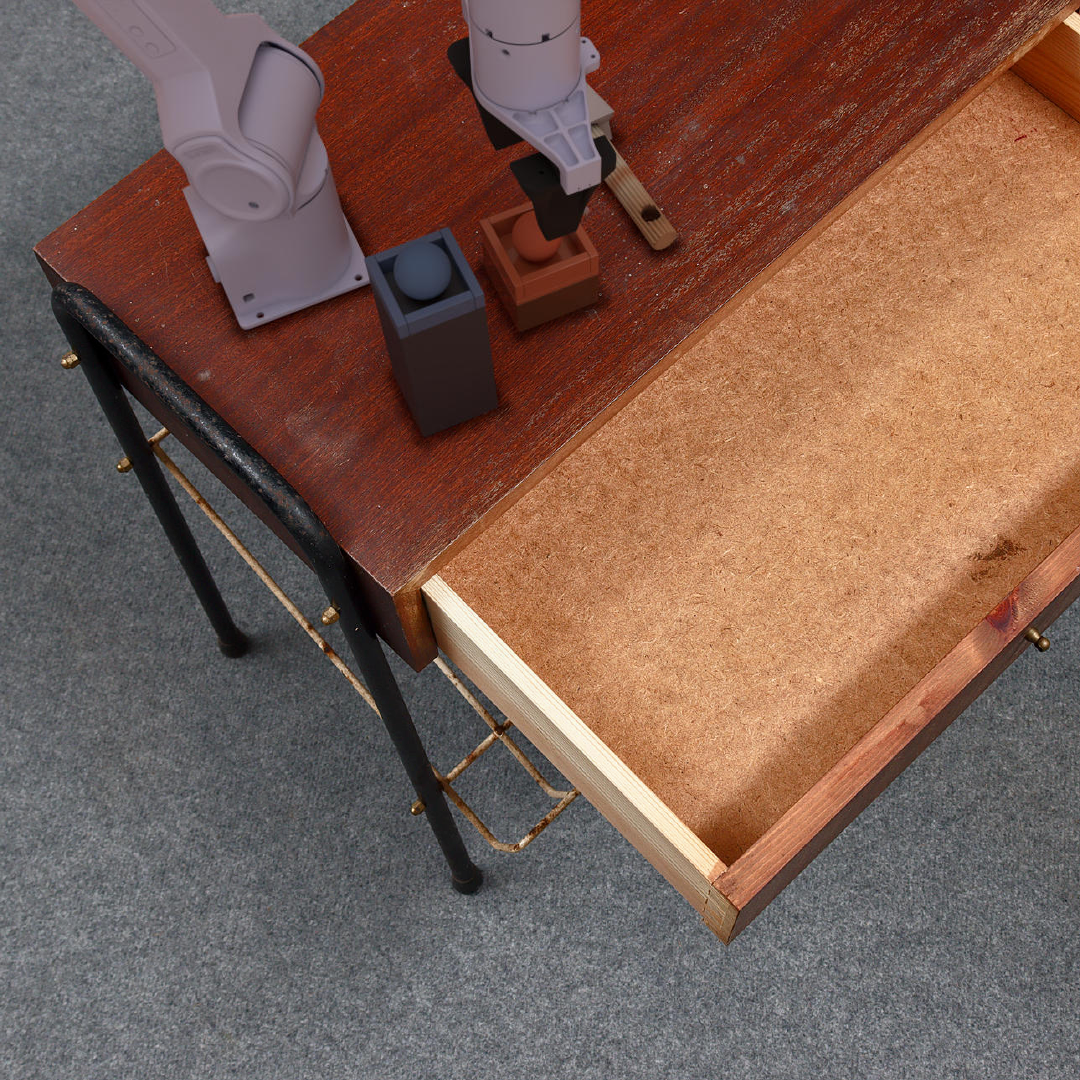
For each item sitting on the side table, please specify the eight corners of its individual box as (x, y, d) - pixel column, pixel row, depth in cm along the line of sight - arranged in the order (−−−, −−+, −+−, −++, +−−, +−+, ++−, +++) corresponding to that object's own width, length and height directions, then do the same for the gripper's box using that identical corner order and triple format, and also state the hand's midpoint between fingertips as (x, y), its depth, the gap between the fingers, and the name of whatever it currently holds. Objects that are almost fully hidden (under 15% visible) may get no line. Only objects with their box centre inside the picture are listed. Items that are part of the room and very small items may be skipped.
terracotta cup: (519, 333, 84) (515, 287, 79) (484, 268, 86) (478, 220, 81) (598, 301, 84) (599, 254, 80) (562, 238, 87) (560, 189, 82)
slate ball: (410, 319, 71) (402, 285, 68) (389, 277, 72) (381, 241, 69) (462, 299, 71) (457, 264, 69) (441, 258, 73) (435, 221, 70)
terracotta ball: (527, 279, 81) (520, 247, 78) (507, 245, 83) (500, 212, 80) (572, 260, 81) (567, 227, 79) (552, 225, 83) (546, 192, 80)
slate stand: (423, 438, 80) (397, 327, 69) (393, 375, 82) (363, 258, 71) (498, 408, 81) (484, 293, 70) (467, 346, 83) (448, 225, 72)
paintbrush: (547, 18, 91) (690, 218, 84) (547, 46, 94) (686, 243, 87) (500, 37, 91) (640, 240, 84) (501, 66, 93) (637, 265, 86)
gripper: (658, 75, 62) (646, 250, 74) (538, -108, 68) (545, 83, 80) (526, 122, 61) (536, 292, 73) (416, -67, 67) (442, 120, 79)
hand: (533, 186), depth 77 cm, fingers open, 7 cm apart
